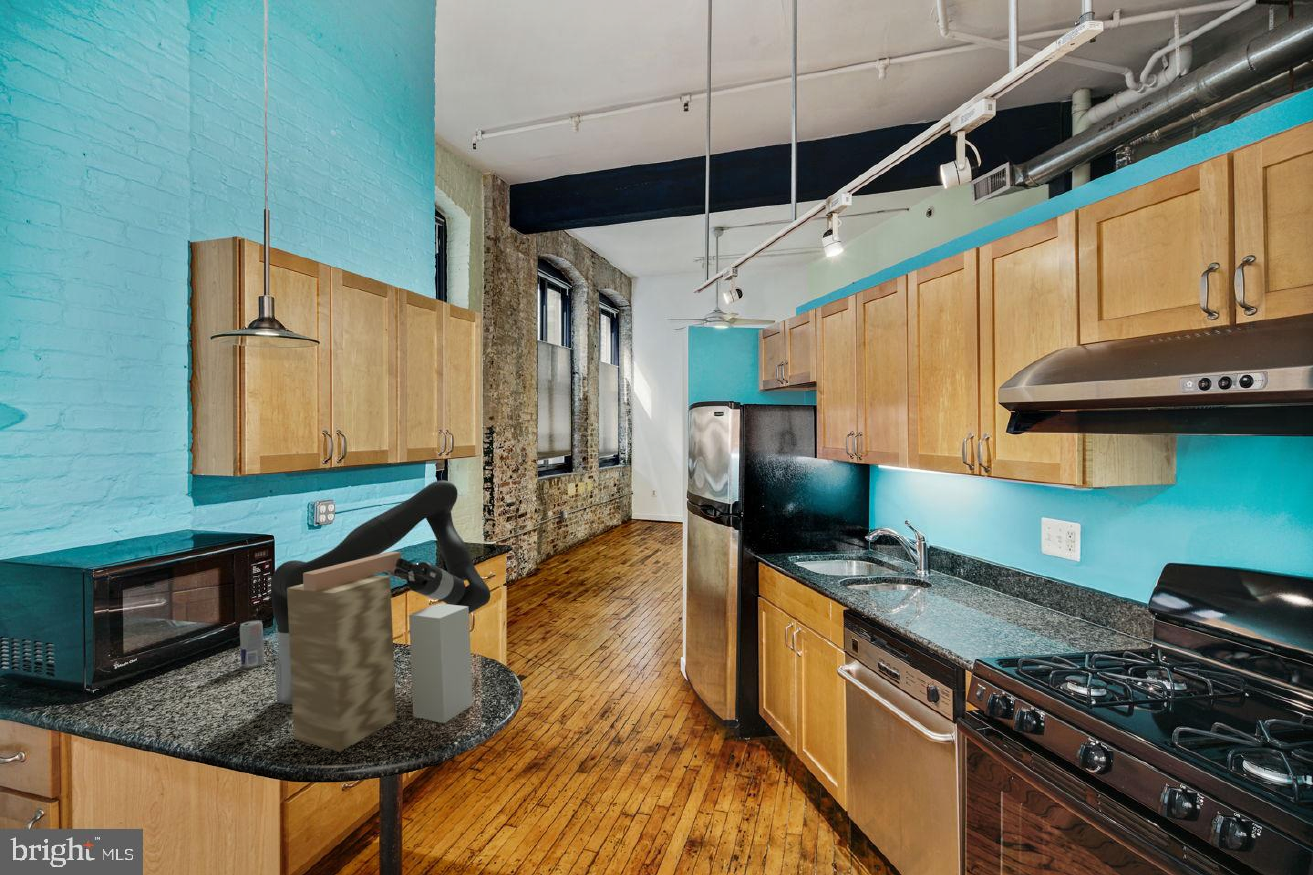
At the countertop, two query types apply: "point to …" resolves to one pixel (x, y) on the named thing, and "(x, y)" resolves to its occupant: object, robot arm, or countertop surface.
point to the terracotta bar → (349, 571)
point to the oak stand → (341, 661)
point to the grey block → (440, 662)
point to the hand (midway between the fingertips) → (384, 561)
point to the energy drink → (251, 644)
